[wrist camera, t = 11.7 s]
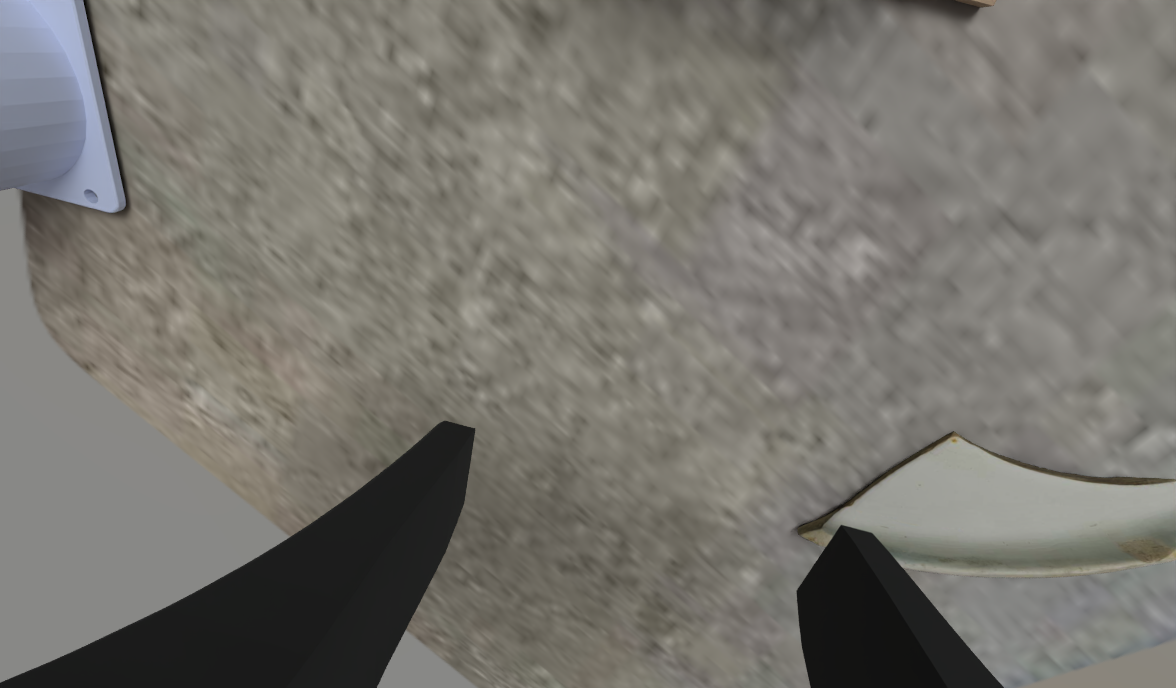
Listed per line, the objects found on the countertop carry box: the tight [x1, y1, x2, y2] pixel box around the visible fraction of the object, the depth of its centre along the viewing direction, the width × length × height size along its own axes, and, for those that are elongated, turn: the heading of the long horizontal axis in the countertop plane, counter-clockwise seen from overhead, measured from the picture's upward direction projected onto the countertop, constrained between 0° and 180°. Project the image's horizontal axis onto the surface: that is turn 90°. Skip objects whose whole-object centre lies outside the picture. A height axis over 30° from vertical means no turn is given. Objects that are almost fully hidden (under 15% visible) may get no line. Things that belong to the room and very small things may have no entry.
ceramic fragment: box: [798, 431, 1176, 578], centre depth 20 cm, size 14×5×4 cm, turn 101°
